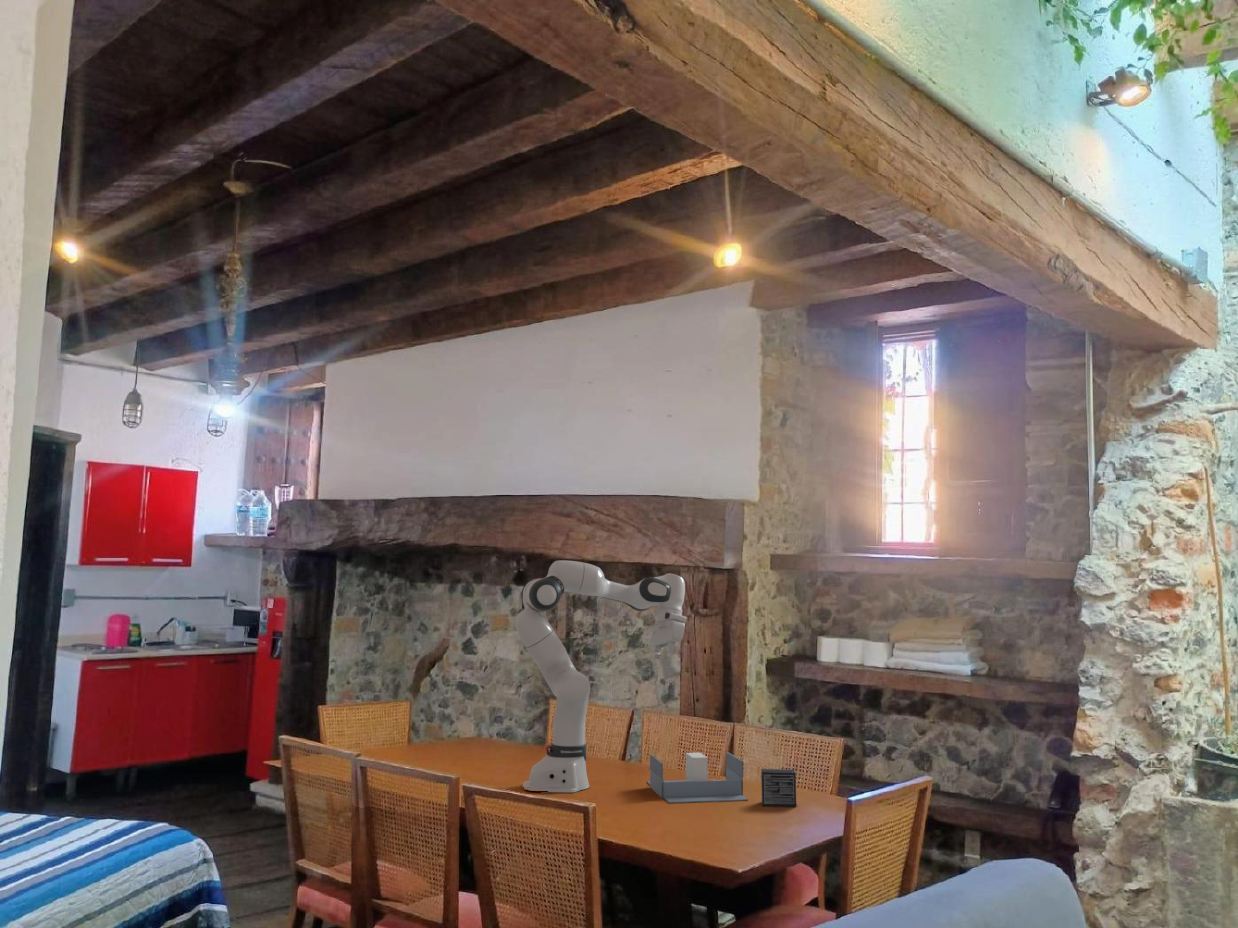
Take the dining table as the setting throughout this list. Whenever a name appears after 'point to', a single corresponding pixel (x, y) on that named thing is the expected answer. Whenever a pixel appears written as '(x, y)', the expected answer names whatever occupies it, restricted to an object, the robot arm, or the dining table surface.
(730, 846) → the dining table surface
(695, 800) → the blue-grey open walled piece
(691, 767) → the box
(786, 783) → the small box
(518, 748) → the dining table surface
